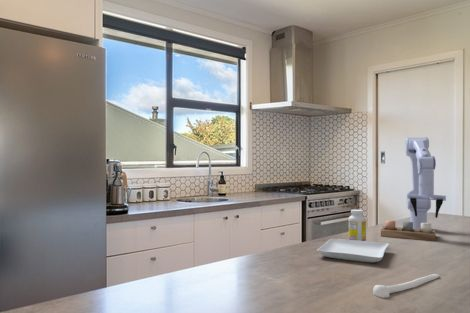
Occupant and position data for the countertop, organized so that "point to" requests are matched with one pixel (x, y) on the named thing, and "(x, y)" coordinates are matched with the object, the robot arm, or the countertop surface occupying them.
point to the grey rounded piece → (407, 226)
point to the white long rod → (401, 286)
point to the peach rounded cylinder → (390, 224)
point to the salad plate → (353, 250)
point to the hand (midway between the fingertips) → (426, 216)
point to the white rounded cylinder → (426, 227)
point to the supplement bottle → (357, 226)
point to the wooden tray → (408, 234)
